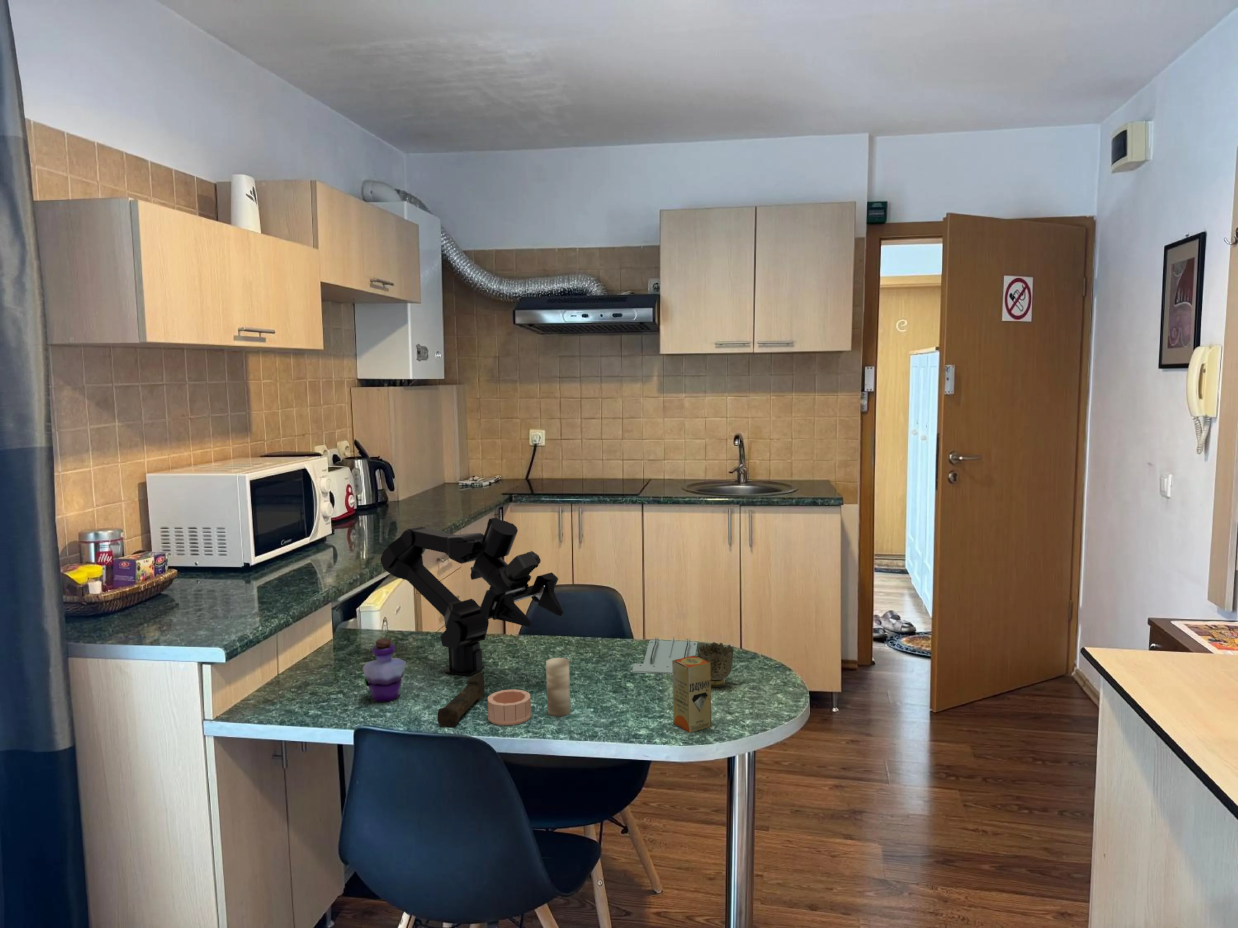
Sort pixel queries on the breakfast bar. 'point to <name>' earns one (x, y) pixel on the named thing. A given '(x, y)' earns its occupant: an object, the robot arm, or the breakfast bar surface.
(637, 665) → the metal bracket
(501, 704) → the terracotta cup
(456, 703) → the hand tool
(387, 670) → the potion bottle
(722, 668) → the brown speckled footed container
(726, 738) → the breakfast bar surface
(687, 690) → the shoe polish box
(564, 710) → the birch peg
